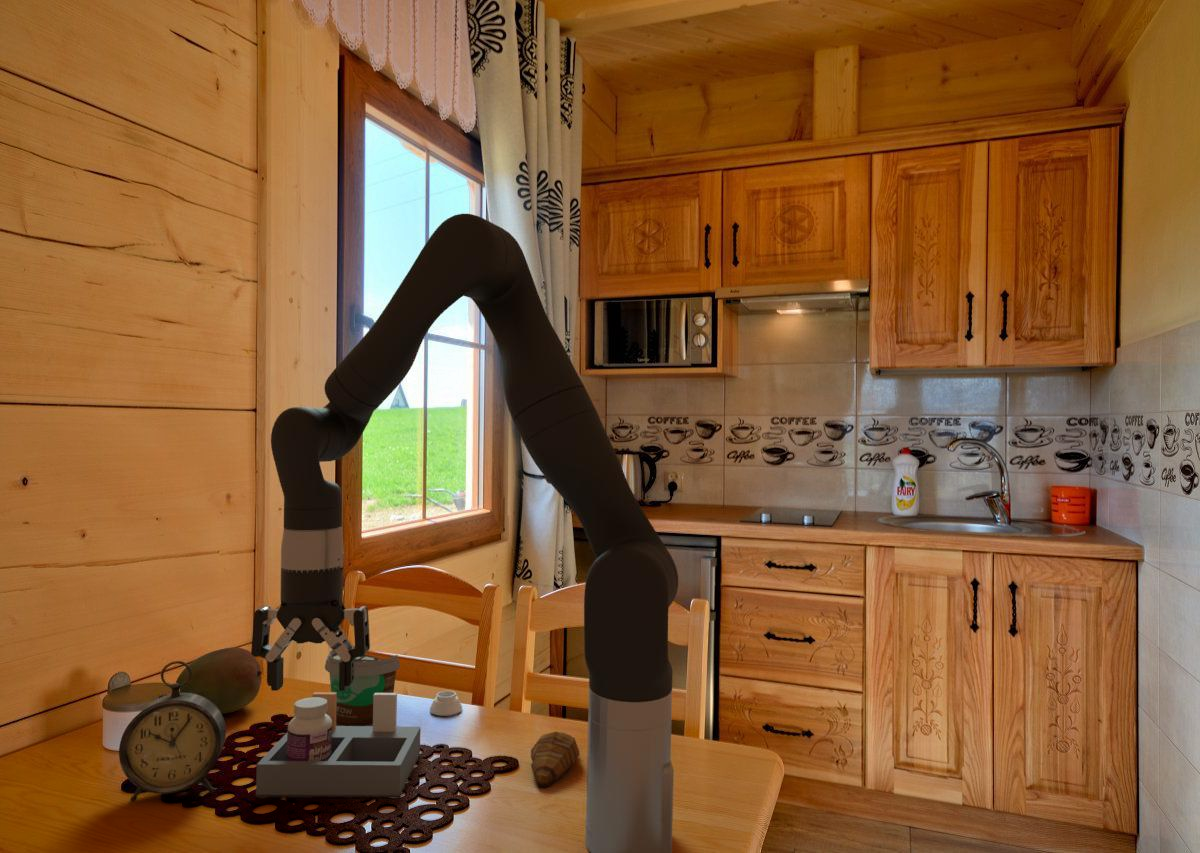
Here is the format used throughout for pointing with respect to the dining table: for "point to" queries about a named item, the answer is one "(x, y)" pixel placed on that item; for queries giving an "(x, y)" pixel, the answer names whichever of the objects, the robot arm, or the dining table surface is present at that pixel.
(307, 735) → the pill bottle
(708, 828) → the dining table surface
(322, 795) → the grey divided tray
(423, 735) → the dining table surface
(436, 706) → the white jar
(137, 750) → the alarm clock
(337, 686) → the food container
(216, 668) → the fruit
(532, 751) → the croissant
